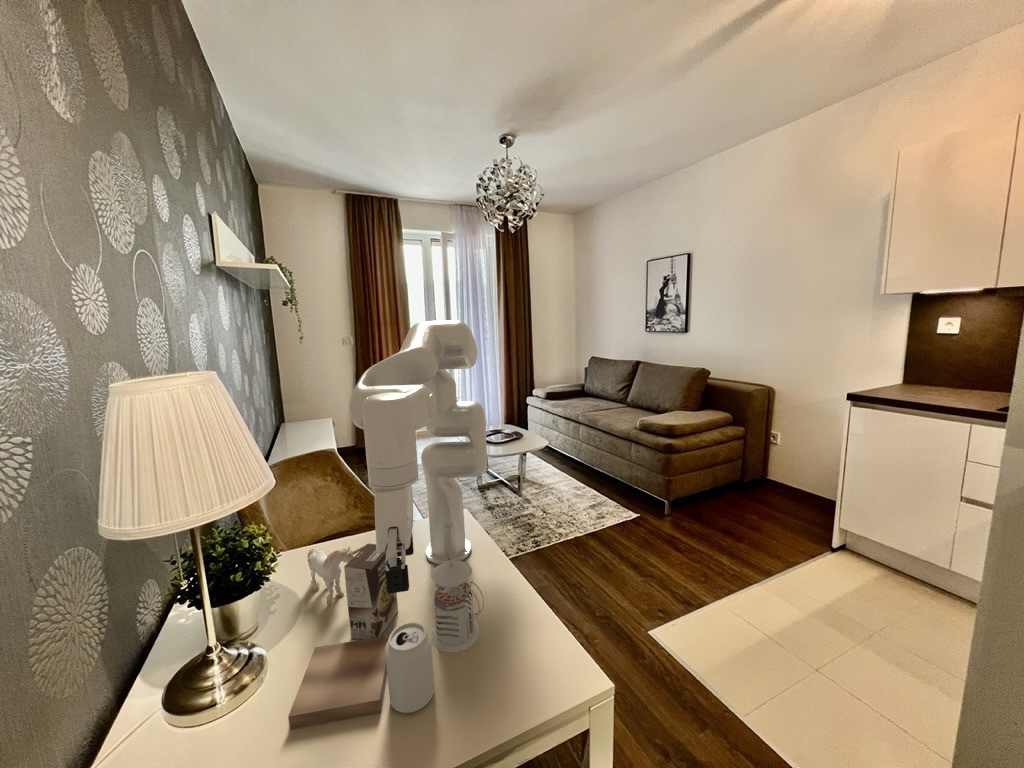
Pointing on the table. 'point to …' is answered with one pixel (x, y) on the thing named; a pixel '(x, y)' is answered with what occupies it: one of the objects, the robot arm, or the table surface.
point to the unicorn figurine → (329, 568)
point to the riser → (341, 683)
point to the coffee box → (368, 594)
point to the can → (409, 667)
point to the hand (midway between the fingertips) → (401, 571)
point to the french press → (456, 623)
